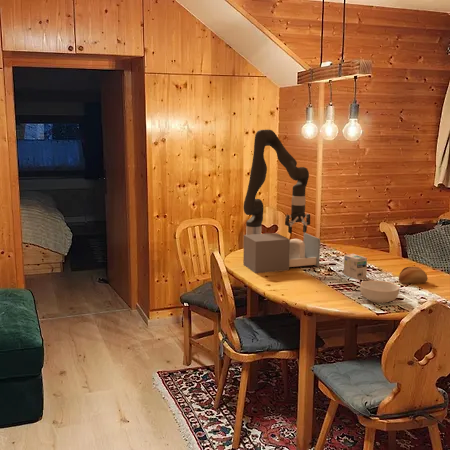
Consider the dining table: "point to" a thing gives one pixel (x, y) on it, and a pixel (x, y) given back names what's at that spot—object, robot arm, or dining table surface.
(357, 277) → the light bulb box
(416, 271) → the bread roll
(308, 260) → the drawer tray
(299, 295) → the dining table surface
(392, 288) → the cereal bowl
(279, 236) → the cabinet
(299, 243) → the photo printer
